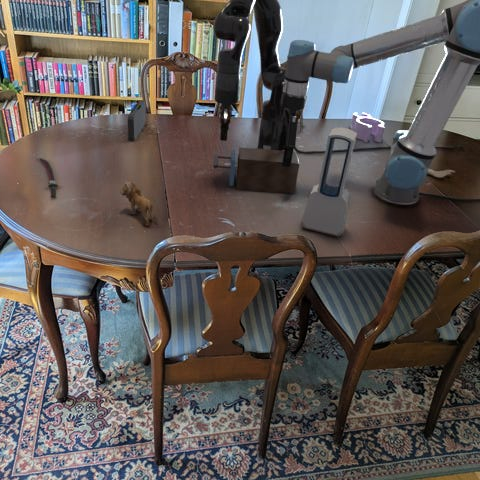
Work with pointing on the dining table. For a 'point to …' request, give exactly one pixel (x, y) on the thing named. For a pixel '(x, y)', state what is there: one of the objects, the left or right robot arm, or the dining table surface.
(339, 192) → the electronic device
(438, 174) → the jawbone
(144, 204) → the lion figurine
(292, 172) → the cabinet
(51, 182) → the sword
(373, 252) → the dining table surface
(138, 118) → the handheld gaming console
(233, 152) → the drawer
